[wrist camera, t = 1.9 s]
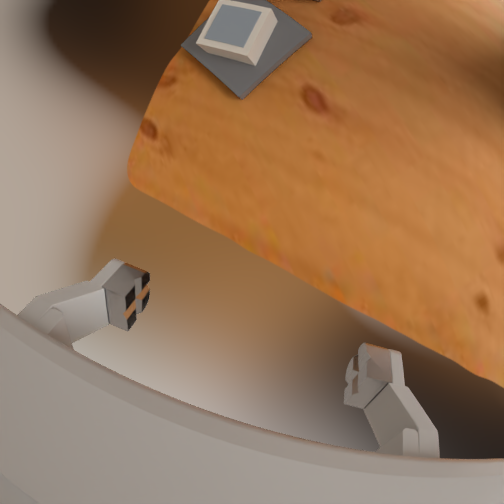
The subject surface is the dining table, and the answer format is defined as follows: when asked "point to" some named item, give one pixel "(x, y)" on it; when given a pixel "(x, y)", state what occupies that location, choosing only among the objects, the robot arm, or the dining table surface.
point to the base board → (245, 42)
